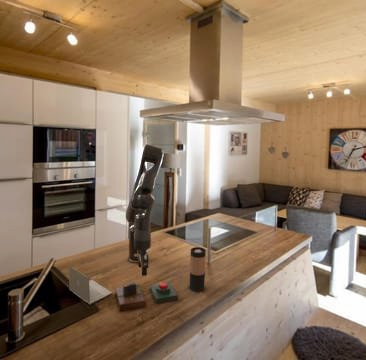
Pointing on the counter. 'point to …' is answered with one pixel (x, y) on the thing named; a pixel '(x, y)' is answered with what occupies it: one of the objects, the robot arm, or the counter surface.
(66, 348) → the counter surface
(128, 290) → the grip knob
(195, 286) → the travel mug
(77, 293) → the laptop
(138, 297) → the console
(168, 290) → the button block
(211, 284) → the counter surface
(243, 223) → the counter surface
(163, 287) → the red button
